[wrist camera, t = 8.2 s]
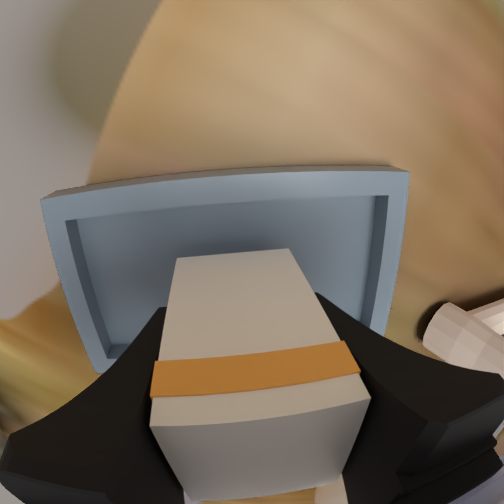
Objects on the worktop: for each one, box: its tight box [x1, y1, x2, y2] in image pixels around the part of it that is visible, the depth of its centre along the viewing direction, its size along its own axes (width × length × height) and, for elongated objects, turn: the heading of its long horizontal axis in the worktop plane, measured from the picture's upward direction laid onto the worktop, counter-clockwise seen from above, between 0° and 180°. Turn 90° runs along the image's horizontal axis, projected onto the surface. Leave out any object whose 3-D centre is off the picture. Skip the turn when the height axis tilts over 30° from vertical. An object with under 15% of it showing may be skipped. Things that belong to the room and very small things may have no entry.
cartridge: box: [150, 248, 371, 501], centre depth 9 cm, size 4×4×7 cm
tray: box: [40, 165, 410, 373], centre depth 13 cm, size 15×9×2 cm, turn 92°
